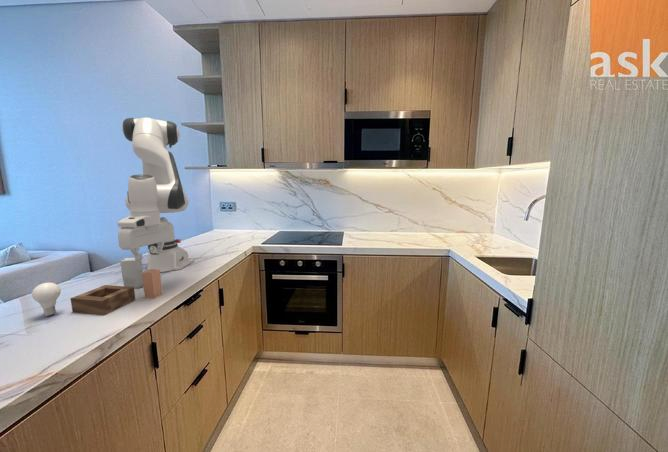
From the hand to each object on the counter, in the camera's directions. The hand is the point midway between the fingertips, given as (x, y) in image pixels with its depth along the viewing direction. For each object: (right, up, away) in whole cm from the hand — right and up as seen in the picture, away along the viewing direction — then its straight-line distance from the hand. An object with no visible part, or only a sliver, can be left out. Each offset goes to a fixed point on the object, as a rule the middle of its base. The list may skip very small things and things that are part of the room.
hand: (149, 256), depth 101 cm
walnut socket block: (-12, -17, -6) cm, 21 cm away
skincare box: (-14, -14, +12) cm, 23 cm away
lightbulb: (-24, -18, -13) cm, 32 cm away
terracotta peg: (0, -16, +3) cm, 16 cm away
